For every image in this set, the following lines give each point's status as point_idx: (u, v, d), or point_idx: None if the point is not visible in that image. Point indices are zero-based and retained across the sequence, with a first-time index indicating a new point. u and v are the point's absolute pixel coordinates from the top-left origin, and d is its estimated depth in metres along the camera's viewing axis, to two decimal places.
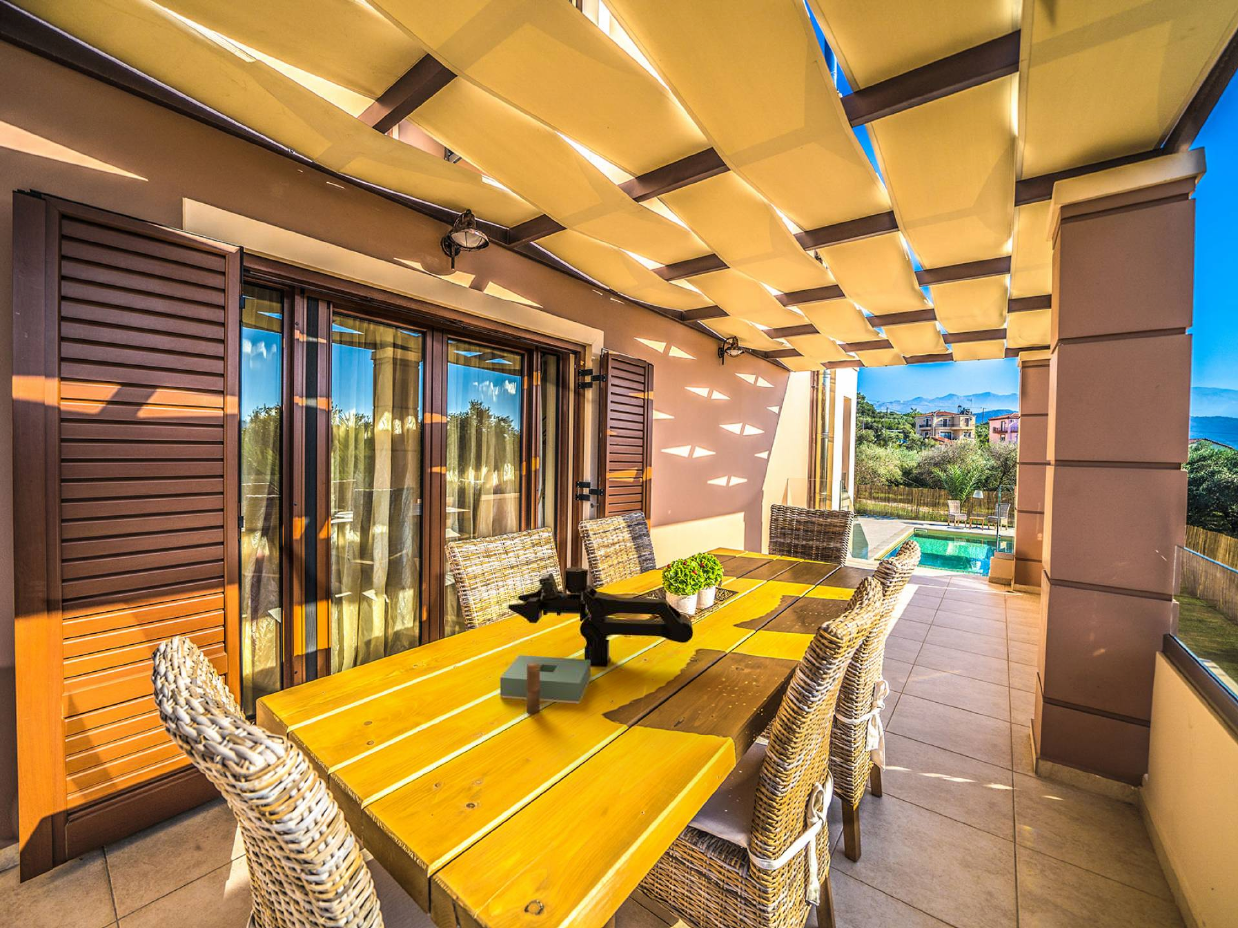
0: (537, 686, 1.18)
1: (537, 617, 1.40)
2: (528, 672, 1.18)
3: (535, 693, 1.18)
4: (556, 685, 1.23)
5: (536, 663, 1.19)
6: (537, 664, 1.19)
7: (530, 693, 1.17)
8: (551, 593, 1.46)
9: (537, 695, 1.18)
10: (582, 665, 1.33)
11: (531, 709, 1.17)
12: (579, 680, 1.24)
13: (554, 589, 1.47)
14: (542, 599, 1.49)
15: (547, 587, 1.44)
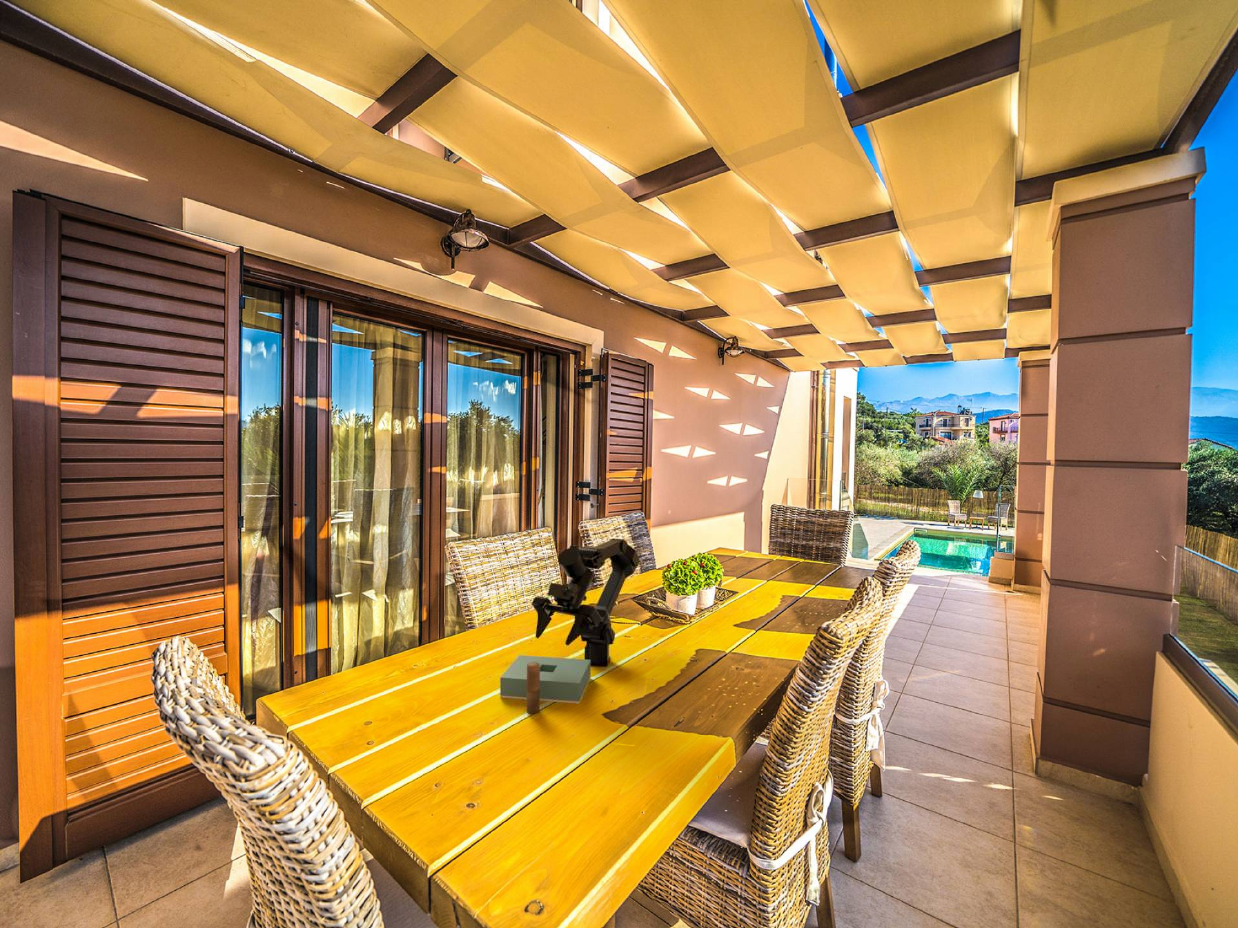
0: (537, 686, 1.18)
1: (599, 615, 1.28)
2: (528, 672, 1.18)
3: (535, 693, 1.18)
4: (556, 685, 1.23)
5: (536, 663, 1.19)
6: (537, 664, 1.19)
7: (530, 693, 1.17)
8: None
9: (537, 695, 1.18)
10: (582, 665, 1.33)
11: (531, 709, 1.17)
12: (579, 680, 1.24)
13: None
14: None
15: (575, 591, 1.27)
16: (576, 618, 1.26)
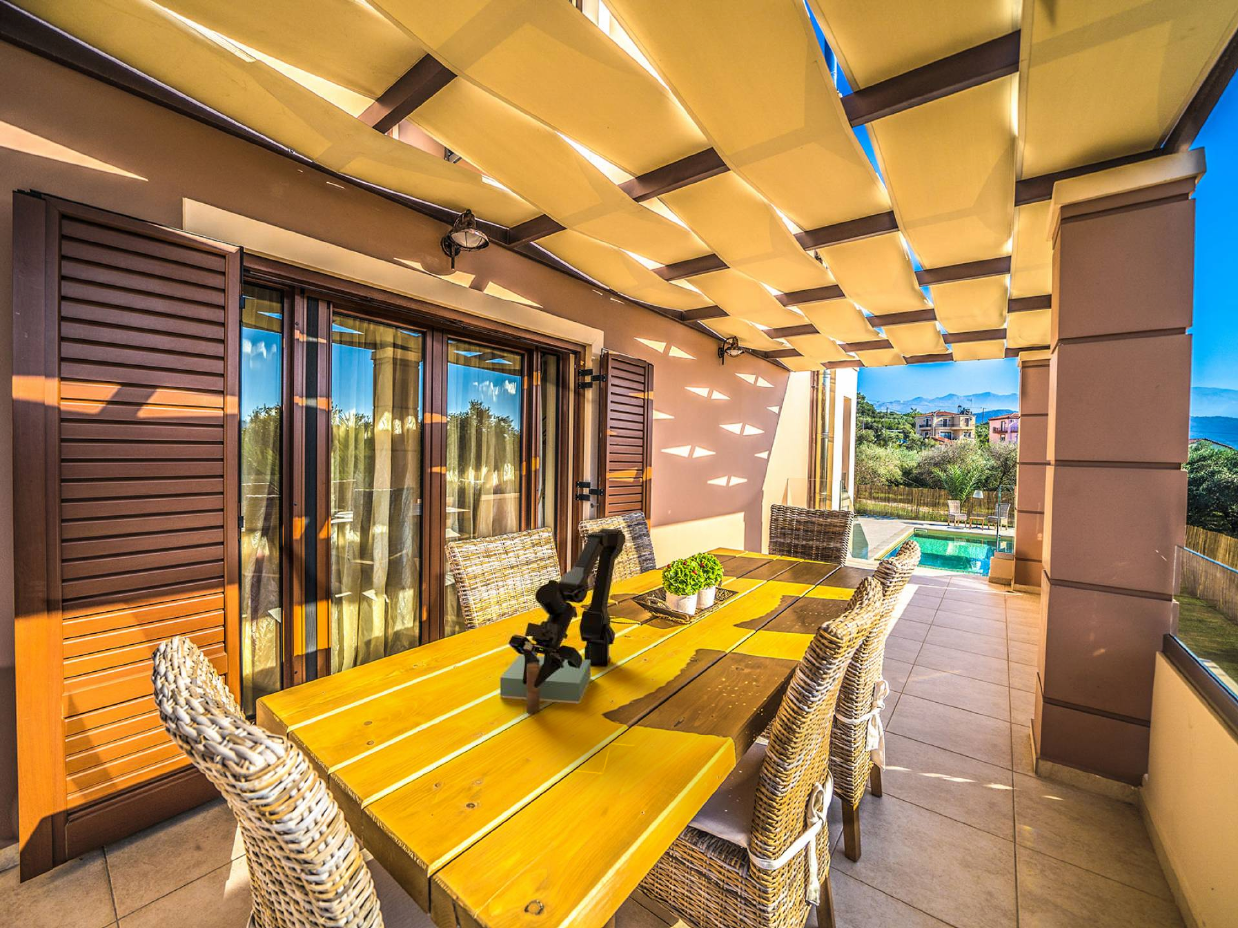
0: None
1: None
2: (528, 672, 1.18)
3: (535, 693, 1.18)
4: (556, 685, 1.23)
5: (536, 663, 1.19)
6: (537, 664, 1.19)
7: (530, 693, 1.17)
8: None
9: (537, 695, 1.18)
10: (582, 665, 1.33)
11: (531, 709, 1.17)
12: (579, 680, 1.24)
13: None
14: None
15: (554, 631, 1.19)
16: (545, 658, 1.19)
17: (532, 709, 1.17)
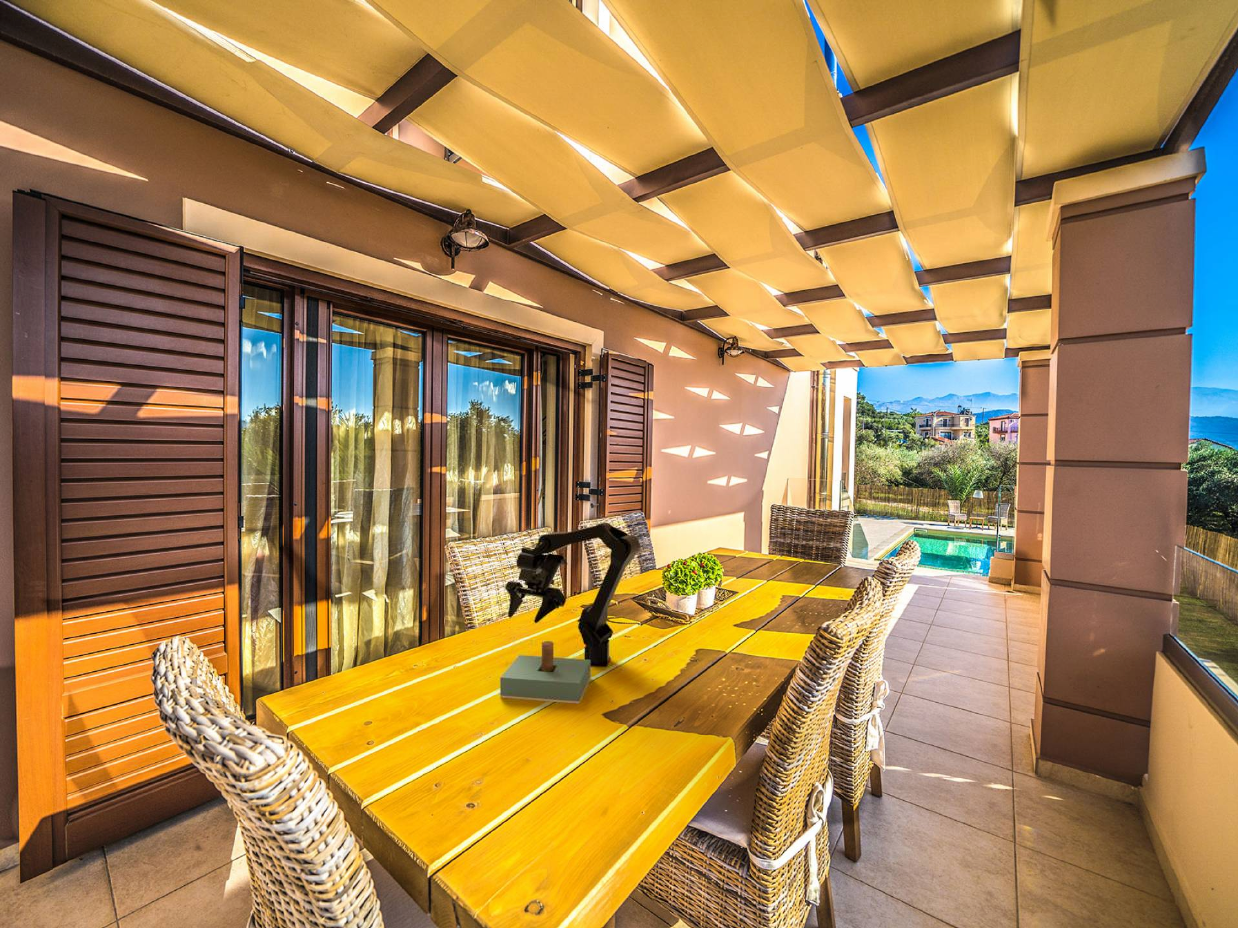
0: (551, 663, 1.30)
1: (564, 596, 1.45)
2: (543, 650, 1.29)
3: (549, 669, 1.29)
4: (556, 685, 1.23)
5: (550, 642, 1.31)
6: (551, 643, 1.31)
7: (545, 669, 1.29)
8: None
9: (551, 671, 1.30)
10: (582, 665, 1.33)
11: None
12: (579, 680, 1.24)
13: None
14: None
15: (543, 575, 1.44)
16: (544, 599, 1.42)
17: None
